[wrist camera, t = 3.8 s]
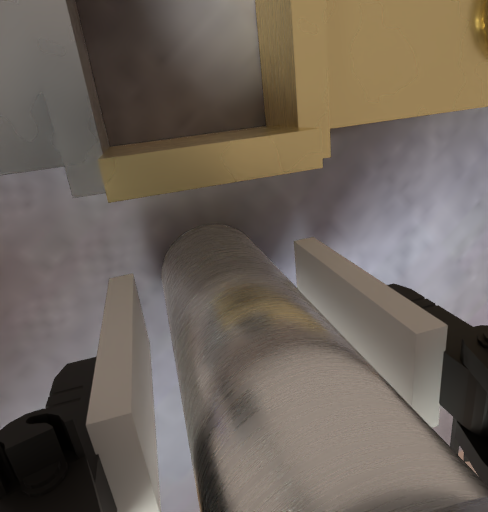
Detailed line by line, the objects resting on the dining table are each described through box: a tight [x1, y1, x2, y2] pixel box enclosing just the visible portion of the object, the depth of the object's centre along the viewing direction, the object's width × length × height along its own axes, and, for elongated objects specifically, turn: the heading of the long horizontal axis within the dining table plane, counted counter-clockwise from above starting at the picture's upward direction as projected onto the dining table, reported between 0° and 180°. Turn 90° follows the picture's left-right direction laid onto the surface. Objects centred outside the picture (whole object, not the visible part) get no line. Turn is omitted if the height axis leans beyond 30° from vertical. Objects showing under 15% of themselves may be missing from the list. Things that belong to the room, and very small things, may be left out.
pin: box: [161, 224, 488, 512], centre depth 9 cm, size 5×5×13 cm
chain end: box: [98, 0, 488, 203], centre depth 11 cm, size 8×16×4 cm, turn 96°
